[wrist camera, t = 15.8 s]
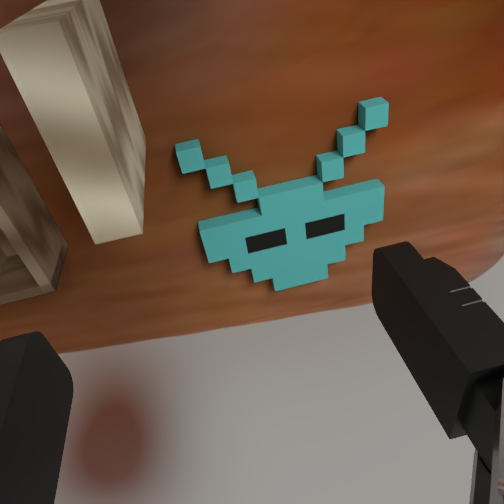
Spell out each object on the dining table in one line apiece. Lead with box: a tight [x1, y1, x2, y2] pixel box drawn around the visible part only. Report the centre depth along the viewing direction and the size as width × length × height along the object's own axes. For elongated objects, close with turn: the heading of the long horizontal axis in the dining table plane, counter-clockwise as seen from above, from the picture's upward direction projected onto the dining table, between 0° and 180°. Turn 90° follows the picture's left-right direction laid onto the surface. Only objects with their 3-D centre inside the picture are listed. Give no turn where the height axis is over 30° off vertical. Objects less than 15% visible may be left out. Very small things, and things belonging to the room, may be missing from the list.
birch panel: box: [0, 0, 146, 245], centre depth 28 cm, size 12×3×15 cm, turn 9°
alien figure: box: [175, 97, 389, 291], centre depth 45 cm, size 20×2×20 cm
